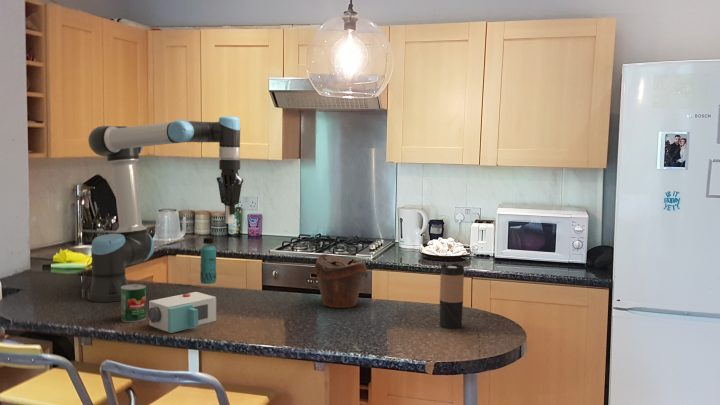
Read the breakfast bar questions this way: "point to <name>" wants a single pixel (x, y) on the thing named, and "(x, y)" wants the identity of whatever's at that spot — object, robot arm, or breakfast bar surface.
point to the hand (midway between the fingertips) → (229, 223)
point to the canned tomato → (133, 303)
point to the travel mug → (451, 295)
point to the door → (182, 318)
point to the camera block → (198, 301)
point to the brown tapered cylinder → (339, 280)
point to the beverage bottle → (208, 262)
